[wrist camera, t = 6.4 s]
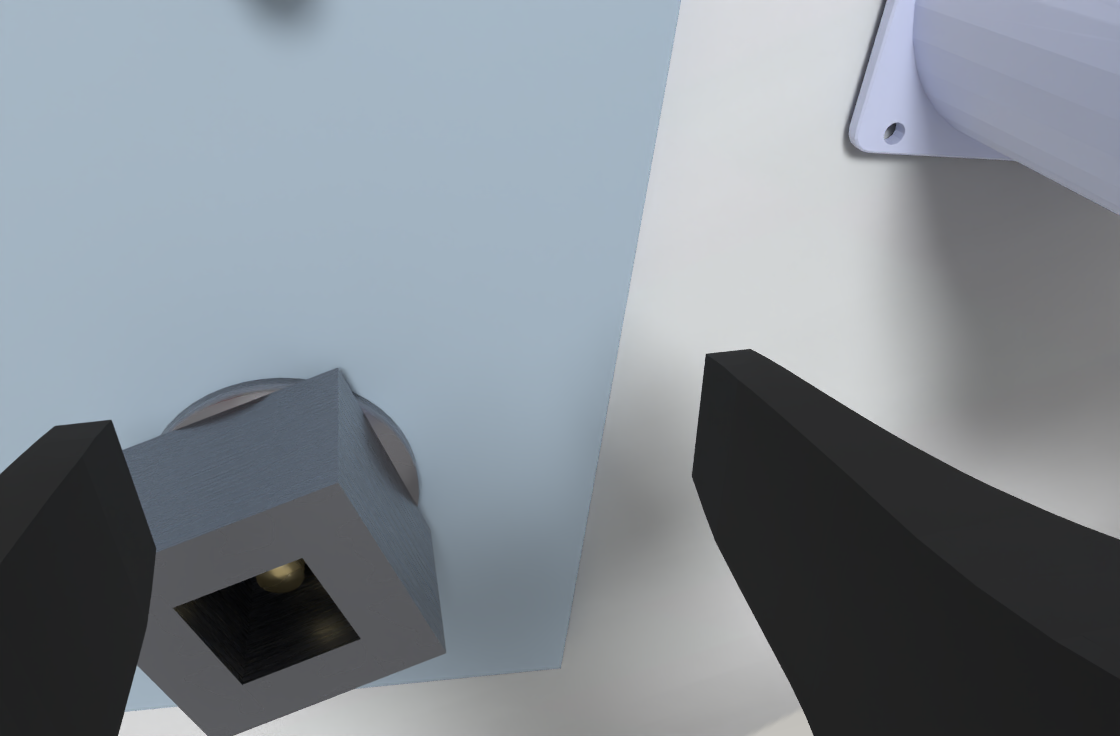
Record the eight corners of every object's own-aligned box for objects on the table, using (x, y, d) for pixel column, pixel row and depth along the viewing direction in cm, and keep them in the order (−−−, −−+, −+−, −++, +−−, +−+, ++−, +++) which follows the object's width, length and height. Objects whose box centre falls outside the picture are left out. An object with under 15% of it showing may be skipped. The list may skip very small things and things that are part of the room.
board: (729, -384, 15) (751, -395, 14) (554, 643, 28) (560, 668, 28) (-431, -632, 11) (-495, -669, 10) (6, 694, 25) (-5, 724, 24)
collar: (337, 367, 19) (338, 482, 16) (430, 529, 22) (446, 653, 19) (106, 455, 19) (60, 589, 16) (232, 605, 22) (214, 742, 19)
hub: (421, 375, 21) (433, 455, 18) (413, 569, 24) (422, 660, 21) (128, 379, 19) (96, 468, 17) (163, 586, 22) (141, 686, 20)
